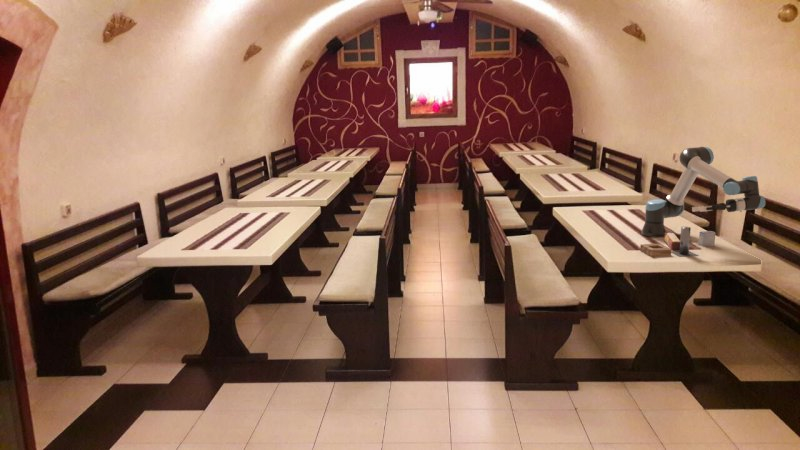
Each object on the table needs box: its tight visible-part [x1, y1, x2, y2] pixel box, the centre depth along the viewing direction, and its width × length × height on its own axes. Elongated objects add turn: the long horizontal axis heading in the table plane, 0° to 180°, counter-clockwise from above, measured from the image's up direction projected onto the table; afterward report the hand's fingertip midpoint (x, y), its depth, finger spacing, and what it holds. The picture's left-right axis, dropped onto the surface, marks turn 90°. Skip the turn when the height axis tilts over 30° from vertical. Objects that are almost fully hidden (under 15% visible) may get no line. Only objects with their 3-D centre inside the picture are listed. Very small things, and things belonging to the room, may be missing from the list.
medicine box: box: [698, 230, 717, 247], centre depth 361 cm, size 8×4×9 cm, turn 92°
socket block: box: [639, 243, 672, 258], centre depth 347 cm, size 14×12×4 cm
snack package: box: [663, 232, 680, 251], centre depth 361 cm, size 21×7×7 cm, turn 166°
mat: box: [671, 250, 699, 258], centre depth 344 cm, size 12×12×1 cm
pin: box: [678, 226, 691, 255], centre depth 342 cm, size 5×5×16 cm
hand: (696, 209), depth 343 cm, fingers open, 13 cm apart
